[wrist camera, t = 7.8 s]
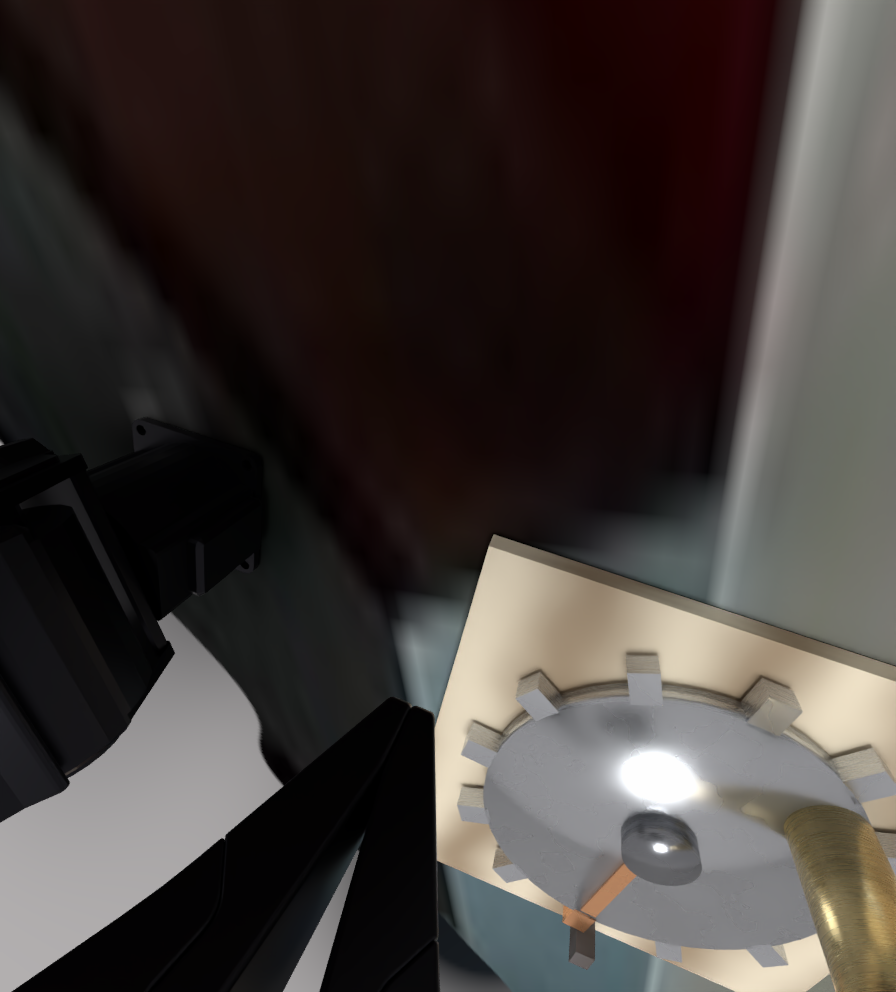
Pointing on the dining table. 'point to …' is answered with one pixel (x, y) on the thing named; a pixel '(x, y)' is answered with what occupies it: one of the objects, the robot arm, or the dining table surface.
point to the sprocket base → (602, 660)
